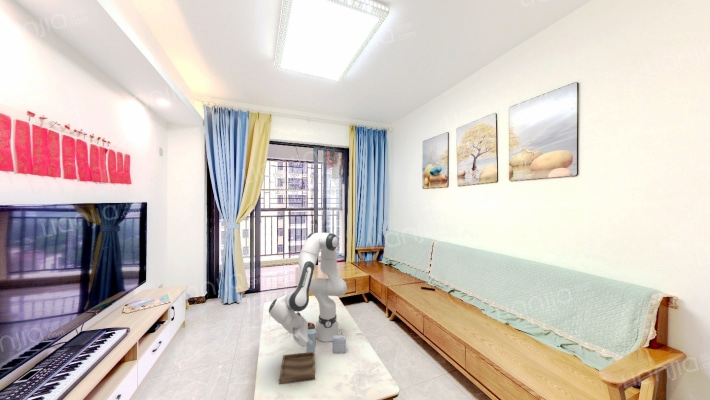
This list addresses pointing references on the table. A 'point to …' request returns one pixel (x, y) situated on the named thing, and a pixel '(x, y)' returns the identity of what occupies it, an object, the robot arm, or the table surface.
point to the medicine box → (339, 344)
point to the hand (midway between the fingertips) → (311, 339)
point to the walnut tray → (297, 368)
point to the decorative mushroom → (311, 326)
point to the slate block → (311, 339)
